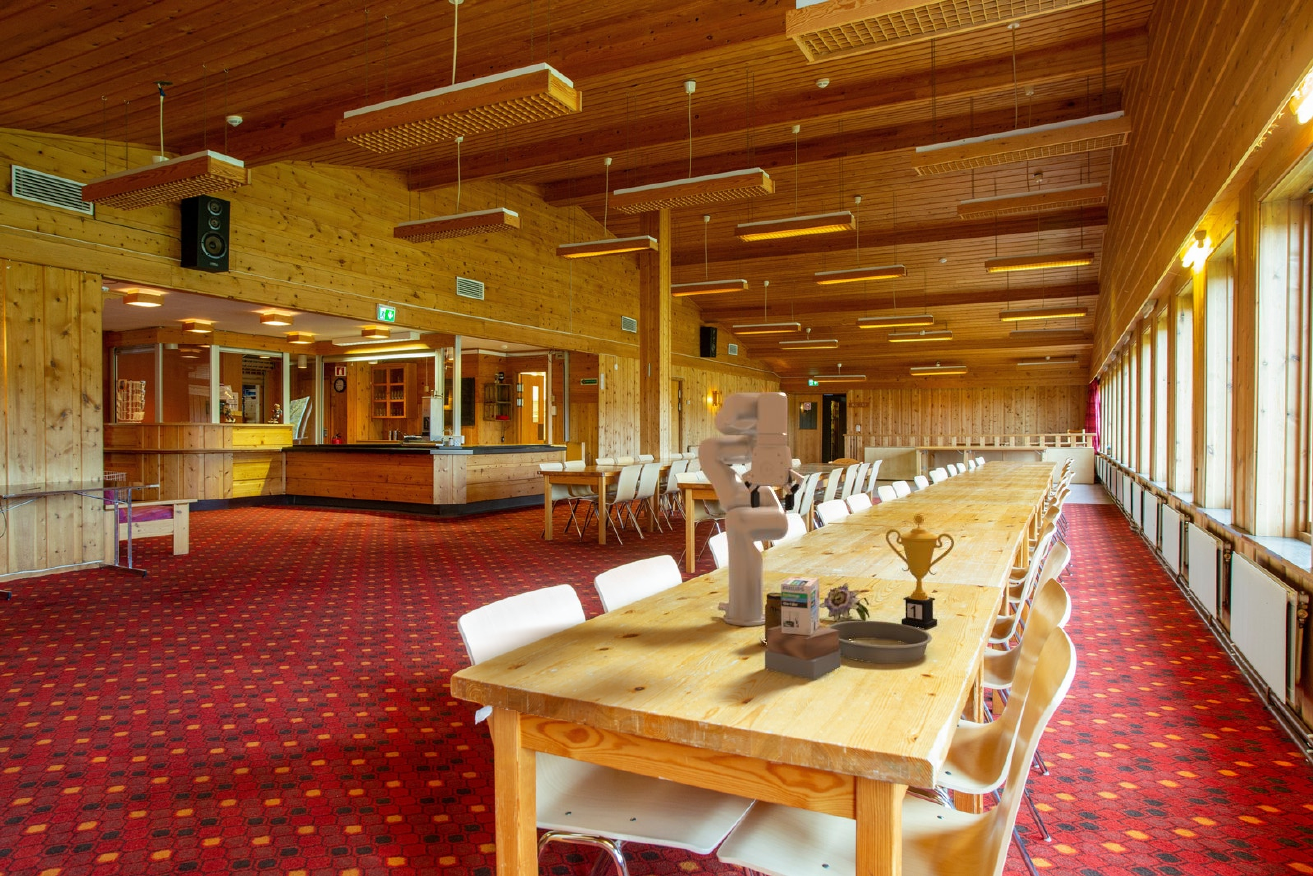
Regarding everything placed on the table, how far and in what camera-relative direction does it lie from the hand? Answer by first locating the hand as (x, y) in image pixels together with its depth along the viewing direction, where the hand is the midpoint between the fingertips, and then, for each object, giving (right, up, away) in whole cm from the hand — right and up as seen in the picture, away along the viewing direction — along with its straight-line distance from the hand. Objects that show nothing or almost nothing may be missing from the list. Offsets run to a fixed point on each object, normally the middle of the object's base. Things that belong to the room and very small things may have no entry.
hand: (772, 508), depth 189 cm
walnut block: (+3, -29, -24) cm, 38 cm away
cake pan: (+24, -33, -10) cm, 42 cm away
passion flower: (+24, -33, +21) cm, 46 cm away
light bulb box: (+3, -25, -24) cm, 34 cm away
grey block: (+3, -33, -24) cm, 41 cm away
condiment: (+1, -33, -4) cm, 33 cm away
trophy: (+42, -33, +13) cm, 55 cm away
